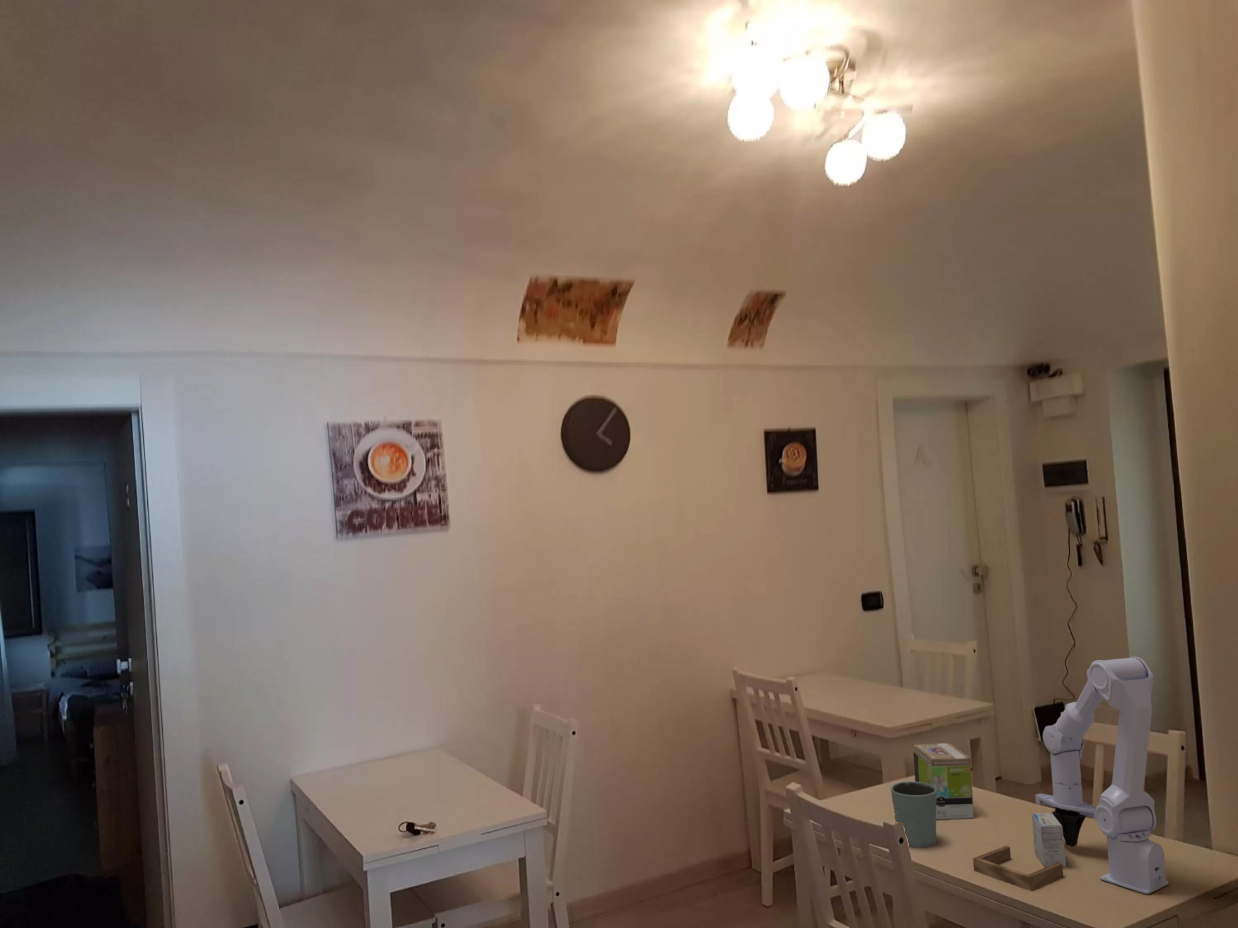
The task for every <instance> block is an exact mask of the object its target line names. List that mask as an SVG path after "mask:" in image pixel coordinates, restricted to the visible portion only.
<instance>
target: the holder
mask: <svg viewBox="0 0 1238 928" xmlns="http://www.w3.org/2000/svg"><path fill="white" fill-rule="evenodd" d="M1011 857H1012V855H1011V846H1008V845H1004V846H1002V847H999V848H997V849H994V850H991V851H989V852H985V853H983V854H981V855H978V856H976V857H973V858H972V861H973V863H972V864H973V871H975V872H976V873H980V874H983V875H986V876H988V877H991V878H993V879H997V880H1000V881H1002V882H1005V883H1009V884H1011V885H1014V886H1017V887H1019V888H1021V889H1025V890H1028V891H1032V890H1033V891H1034V890H1035V889H1037V888H1039V887H1042V886H1044V885H1046V884H1048V883H1050V882H1053V881H1056V880H1058V879H1060V878H1062V877H1064V867H1063V864H1062V863H1059V862H1057V863H1055V864H1052V865H1050V866H1048V867H1045V866H1044V867H1042V868H1041V869H1038V870H1036V871H1034V872H1033V871H1032V872H1031V873H1028V874H1027V873H1025V872H1021V871H1019V870H1015V869H1012V868H1010V867H1007V866H1004V865H1000V864H1002V863H1004V862H1007V861H1009V860H1012V858H1011Z"/></svg>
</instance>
